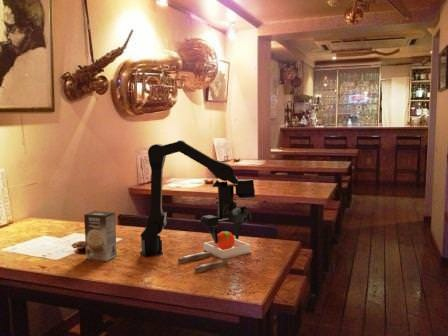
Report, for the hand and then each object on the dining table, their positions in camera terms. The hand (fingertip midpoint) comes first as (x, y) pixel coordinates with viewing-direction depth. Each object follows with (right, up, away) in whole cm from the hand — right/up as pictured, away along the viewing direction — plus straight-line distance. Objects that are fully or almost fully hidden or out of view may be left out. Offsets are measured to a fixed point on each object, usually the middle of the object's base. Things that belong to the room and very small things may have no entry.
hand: (226, 241), depth 147 cm
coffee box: (-45, -5, -3) cm, 45 cm away
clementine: (0, -4, 0) cm, 4 cm away
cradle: (-8, -5, -12) cm, 16 cm away
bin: (0, -4, 0) cm, 4 cm away
